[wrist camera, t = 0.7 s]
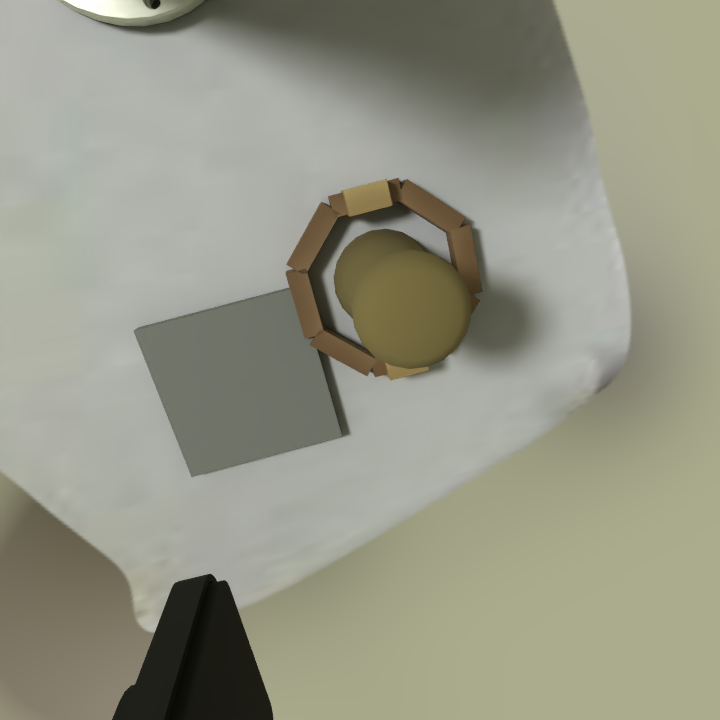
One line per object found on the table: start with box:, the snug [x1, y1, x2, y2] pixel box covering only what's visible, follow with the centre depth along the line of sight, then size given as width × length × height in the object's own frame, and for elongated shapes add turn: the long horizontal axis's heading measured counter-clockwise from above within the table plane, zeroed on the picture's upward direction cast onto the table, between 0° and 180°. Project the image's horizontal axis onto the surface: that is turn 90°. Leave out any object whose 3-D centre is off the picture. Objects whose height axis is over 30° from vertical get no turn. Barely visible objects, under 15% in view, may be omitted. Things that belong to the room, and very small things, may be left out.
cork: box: [334, 229, 471, 369], centre depth 27 cm, size 6×6×11 cm
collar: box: [286, 178, 482, 380], centre depth 31 cm, size 11×11×2 cm
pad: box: [134, 288, 342, 477], centre depth 33 cm, size 10×10×1 cm
